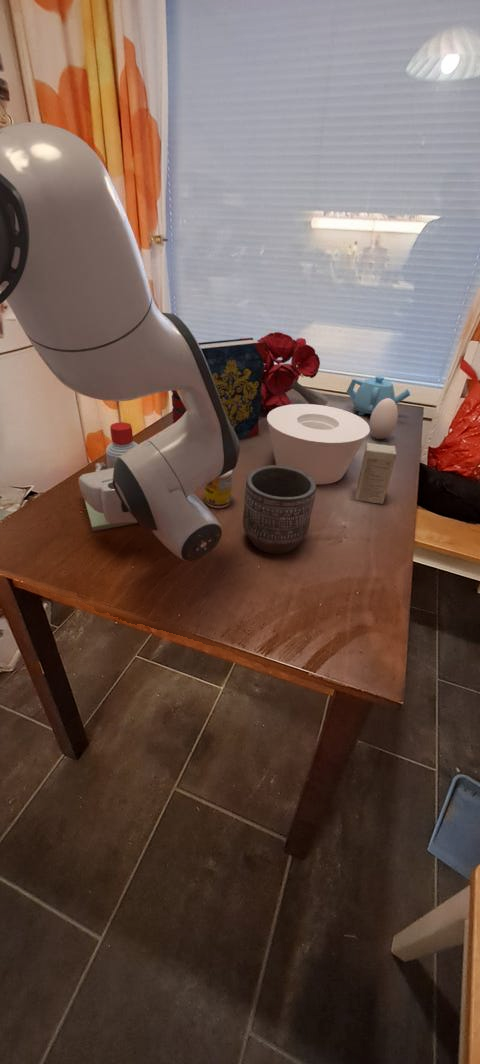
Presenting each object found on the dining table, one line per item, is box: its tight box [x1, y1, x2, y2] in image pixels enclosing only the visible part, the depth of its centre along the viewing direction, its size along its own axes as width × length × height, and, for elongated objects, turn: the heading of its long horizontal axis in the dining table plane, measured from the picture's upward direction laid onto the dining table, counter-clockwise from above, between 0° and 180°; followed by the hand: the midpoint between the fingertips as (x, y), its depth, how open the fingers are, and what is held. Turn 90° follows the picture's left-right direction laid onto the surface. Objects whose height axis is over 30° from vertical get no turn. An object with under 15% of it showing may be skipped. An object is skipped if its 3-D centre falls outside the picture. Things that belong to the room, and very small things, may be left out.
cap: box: [109, 421, 134, 445], centre depth 76 cm, size 4×4×3 cm
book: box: [171, 337, 266, 441], centre depth 108 cm, size 25×7×25 cm, turn 126°
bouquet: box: [256, 331, 329, 412], centre depth 133 cm, size 22×24×30 cm
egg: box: [368, 398, 399, 440], centre depth 120 cm, size 7×7×12 cm
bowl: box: [266, 403, 371, 485], centre depth 102 cm, size 24×24×12 cm
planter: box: [242, 464, 317, 555], centre depth 76 cm, size 12×12×13 cm
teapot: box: [346, 375, 411, 416], centre depth 137 cm, size 20×17×12 cm
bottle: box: [105, 440, 139, 469], centre depth 80 cm, size 6×6×16 cm
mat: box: [83, 498, 139, 532], centre depth 85 cm, size 16×12×1 cm
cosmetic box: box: [354, 442, 397, 505], centre depth 91 cm, size 6×4×12 cm
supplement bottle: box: [204, 469, 234, 509], centre depth 86 cm, size 6×6×10 cm
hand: (124, 461), depth 79 cm, fingers open, 8 cm apart
